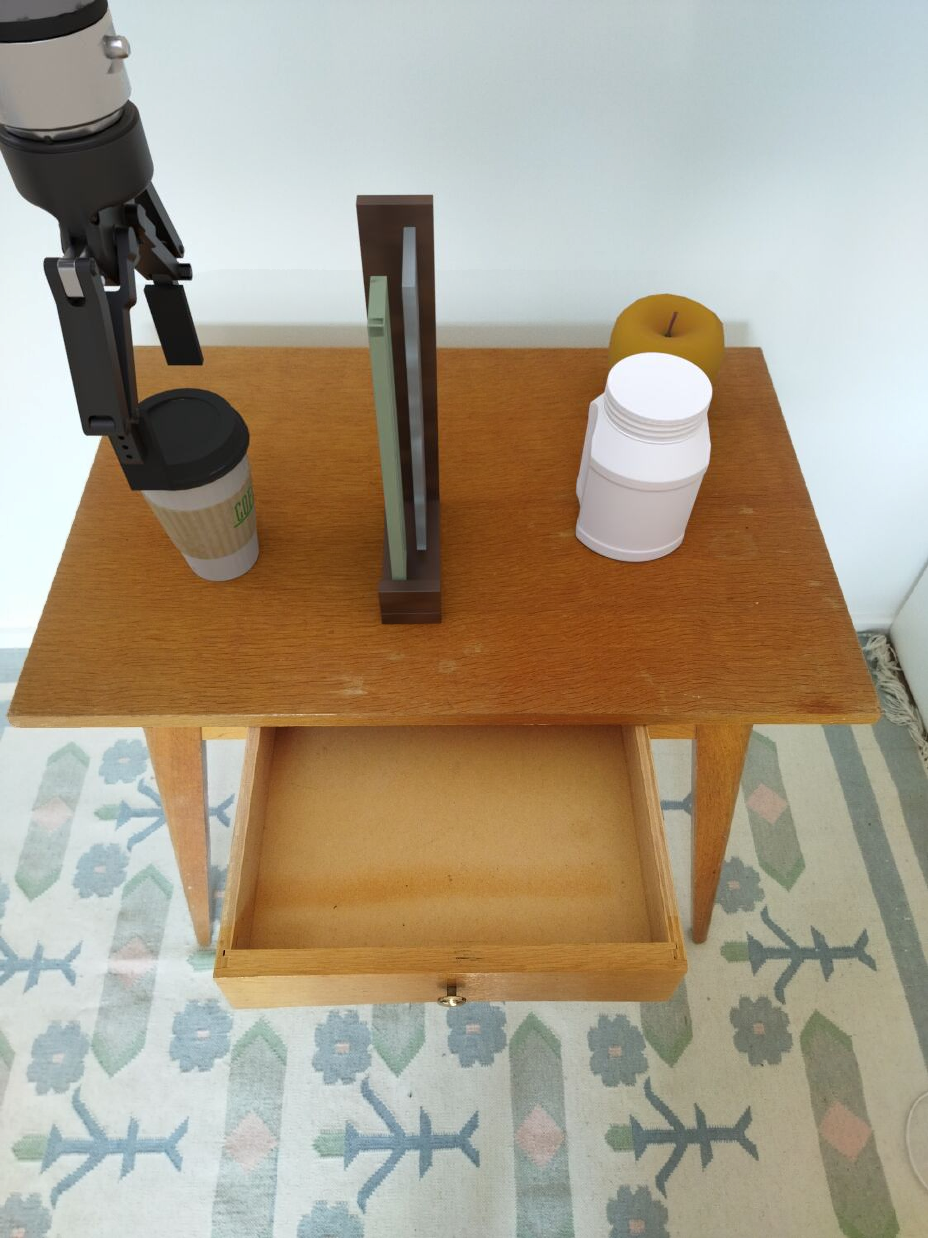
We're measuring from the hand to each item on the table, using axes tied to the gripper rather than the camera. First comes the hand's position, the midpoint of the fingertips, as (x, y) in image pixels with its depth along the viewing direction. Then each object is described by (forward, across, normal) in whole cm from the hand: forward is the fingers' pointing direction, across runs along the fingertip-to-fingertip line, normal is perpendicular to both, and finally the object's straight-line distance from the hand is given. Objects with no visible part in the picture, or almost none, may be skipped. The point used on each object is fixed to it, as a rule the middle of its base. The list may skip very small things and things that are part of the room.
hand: (170, 420), depth 61 cm
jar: (+15, +4, -38) cm, 41 cm away
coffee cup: (+16, 0, -1) cm, 16 cm away
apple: (+15, +17, -42) cm, 47 cm away
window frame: (+15, -1, -18) cm, 23 cm away
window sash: (+13, -4, -17) cm, 21 cm away
